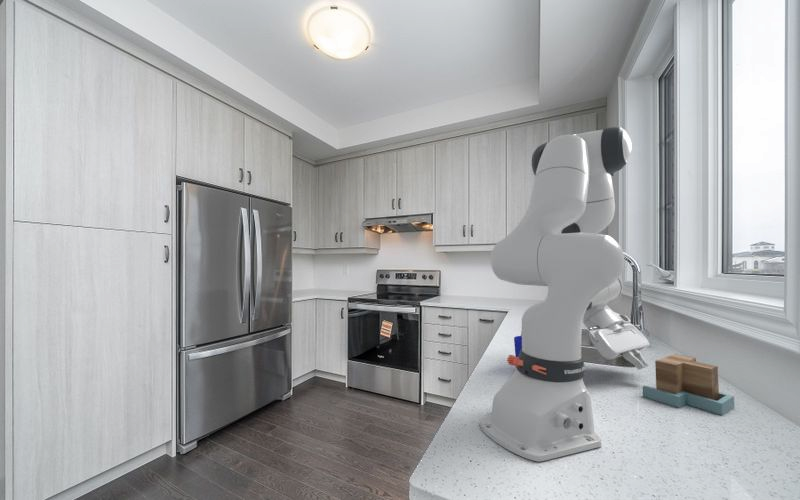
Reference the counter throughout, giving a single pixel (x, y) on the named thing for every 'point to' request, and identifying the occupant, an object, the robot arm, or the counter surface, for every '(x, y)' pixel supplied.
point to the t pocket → (691, 400)
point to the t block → (687, 376)
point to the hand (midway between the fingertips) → (644, 367)
